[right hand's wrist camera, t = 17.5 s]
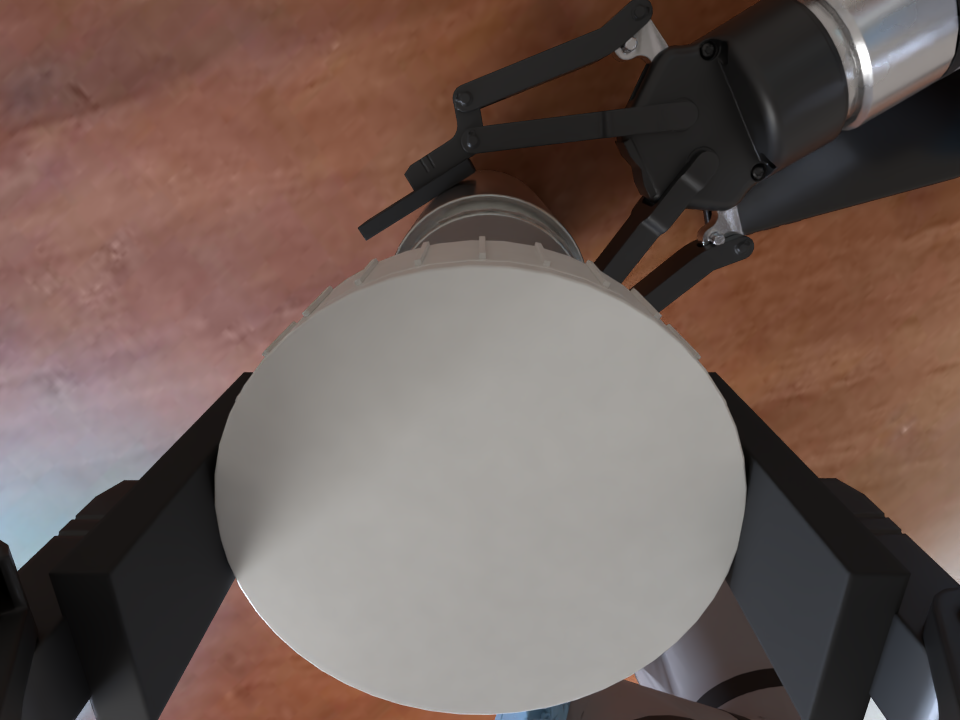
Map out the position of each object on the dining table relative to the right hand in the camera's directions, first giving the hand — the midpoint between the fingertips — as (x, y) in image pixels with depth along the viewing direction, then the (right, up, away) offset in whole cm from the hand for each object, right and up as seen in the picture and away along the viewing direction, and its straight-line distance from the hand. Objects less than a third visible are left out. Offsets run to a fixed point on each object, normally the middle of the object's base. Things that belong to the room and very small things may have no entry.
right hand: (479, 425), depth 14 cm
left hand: (-4, +5, +19) cm, 20 cm away
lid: (0, -1, -3) cm, 3 cm away
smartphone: (+21, +15, +22) cm, 33 cm away
